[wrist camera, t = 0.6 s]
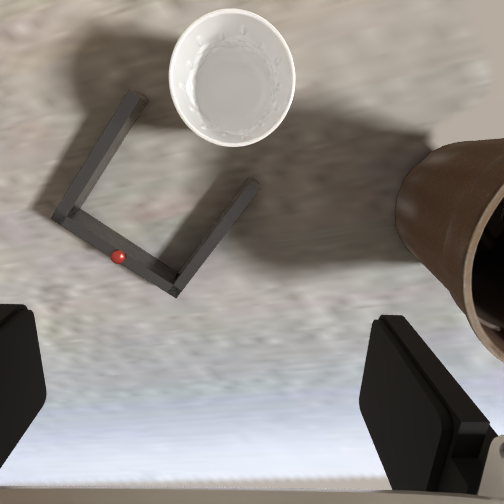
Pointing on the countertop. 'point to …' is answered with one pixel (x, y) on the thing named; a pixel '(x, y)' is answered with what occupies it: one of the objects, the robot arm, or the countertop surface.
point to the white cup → (231, 77)
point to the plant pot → (461, 229)
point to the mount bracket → (114, 242)
